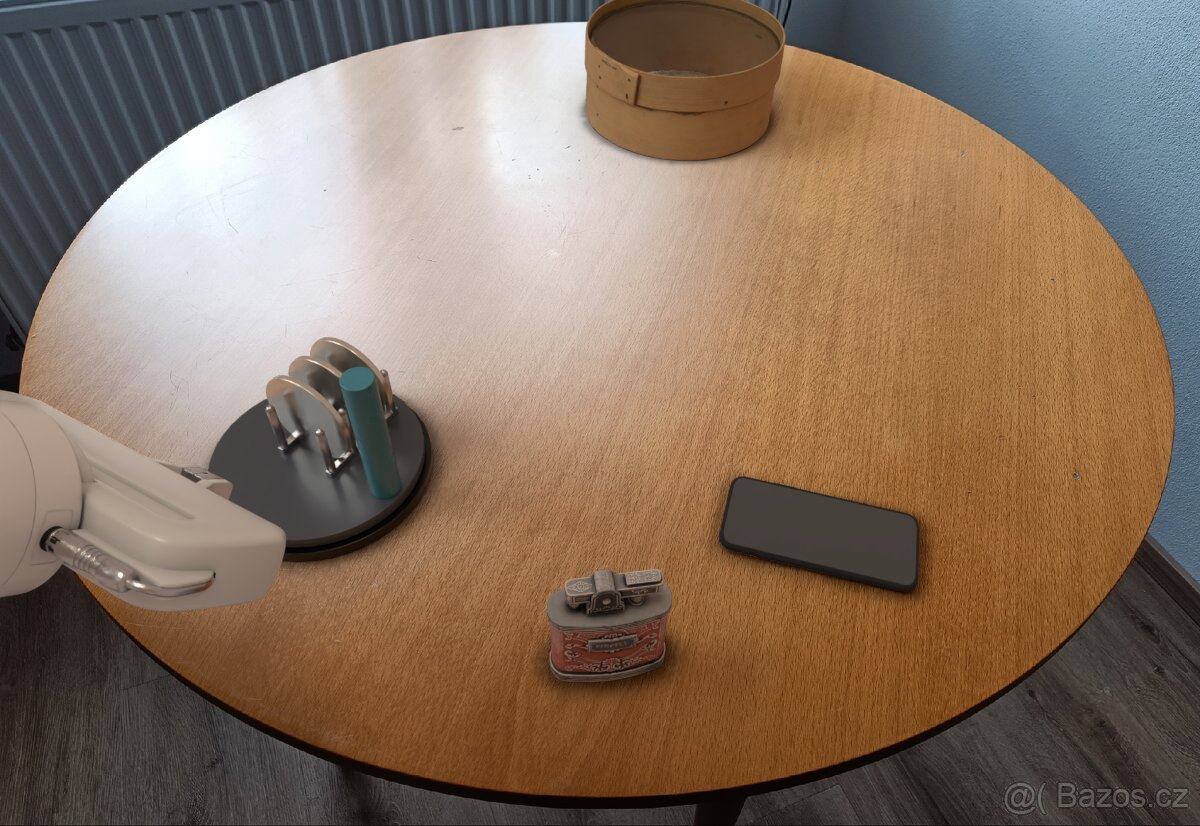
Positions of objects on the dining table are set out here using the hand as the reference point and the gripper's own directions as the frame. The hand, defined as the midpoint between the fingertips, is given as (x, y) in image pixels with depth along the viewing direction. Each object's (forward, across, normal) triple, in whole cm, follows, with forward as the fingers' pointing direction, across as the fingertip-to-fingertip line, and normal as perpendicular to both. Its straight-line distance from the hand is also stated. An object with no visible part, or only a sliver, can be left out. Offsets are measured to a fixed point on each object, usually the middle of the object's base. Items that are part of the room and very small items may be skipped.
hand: (212, 486), depth 51 cm
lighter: (+17, -22, +4) cm, 28 cm away
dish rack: (+19, +6, +1) cm, 20 cm away
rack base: (+19, +6, +2) cm, 20 cm away
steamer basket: (+69, +7, -48) cm, 84 cm away
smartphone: (+29, -32, -8) cm, 44 cm away
